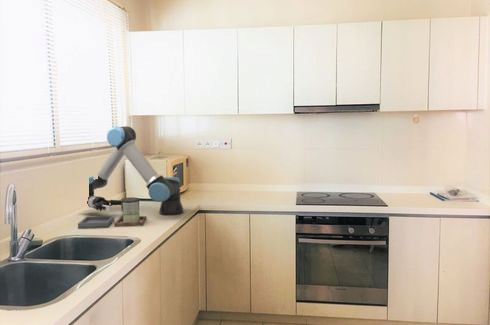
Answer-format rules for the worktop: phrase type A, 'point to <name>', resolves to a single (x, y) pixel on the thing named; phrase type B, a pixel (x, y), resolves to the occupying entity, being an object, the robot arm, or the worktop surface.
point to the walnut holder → (118, 224)
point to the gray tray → (96, 222)
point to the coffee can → (130, 209)
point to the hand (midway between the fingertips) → (119, 206)
